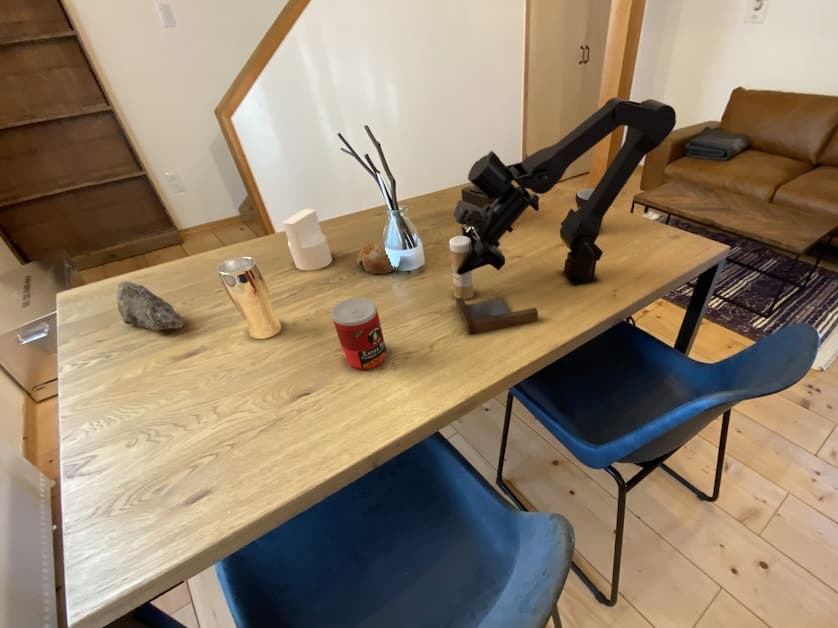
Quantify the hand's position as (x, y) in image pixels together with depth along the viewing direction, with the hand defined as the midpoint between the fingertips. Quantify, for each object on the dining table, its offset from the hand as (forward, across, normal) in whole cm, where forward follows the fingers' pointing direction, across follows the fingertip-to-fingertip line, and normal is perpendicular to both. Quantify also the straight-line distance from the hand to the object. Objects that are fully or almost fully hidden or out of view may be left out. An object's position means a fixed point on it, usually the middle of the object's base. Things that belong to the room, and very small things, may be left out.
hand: (455, 268), depth 95 cm
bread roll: (+16, -20, -6) cm, 26 cm away
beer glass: (+34, +2, -24) cm, 42 cm away
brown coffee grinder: (-8, -37, +18) cm, 42 cm away
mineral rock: (+50, -6, -40) cm, 64 cm away
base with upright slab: (+28, -27, -18) cm, 43 cm away
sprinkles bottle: (+4, 0, +6) cm, 7 cm away
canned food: (+20, +17, -10) cm, 28 cm away
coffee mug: (-26, -26, +36) cm, 51 cm away
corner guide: (0, +10, +10) cm, 13 cm away
